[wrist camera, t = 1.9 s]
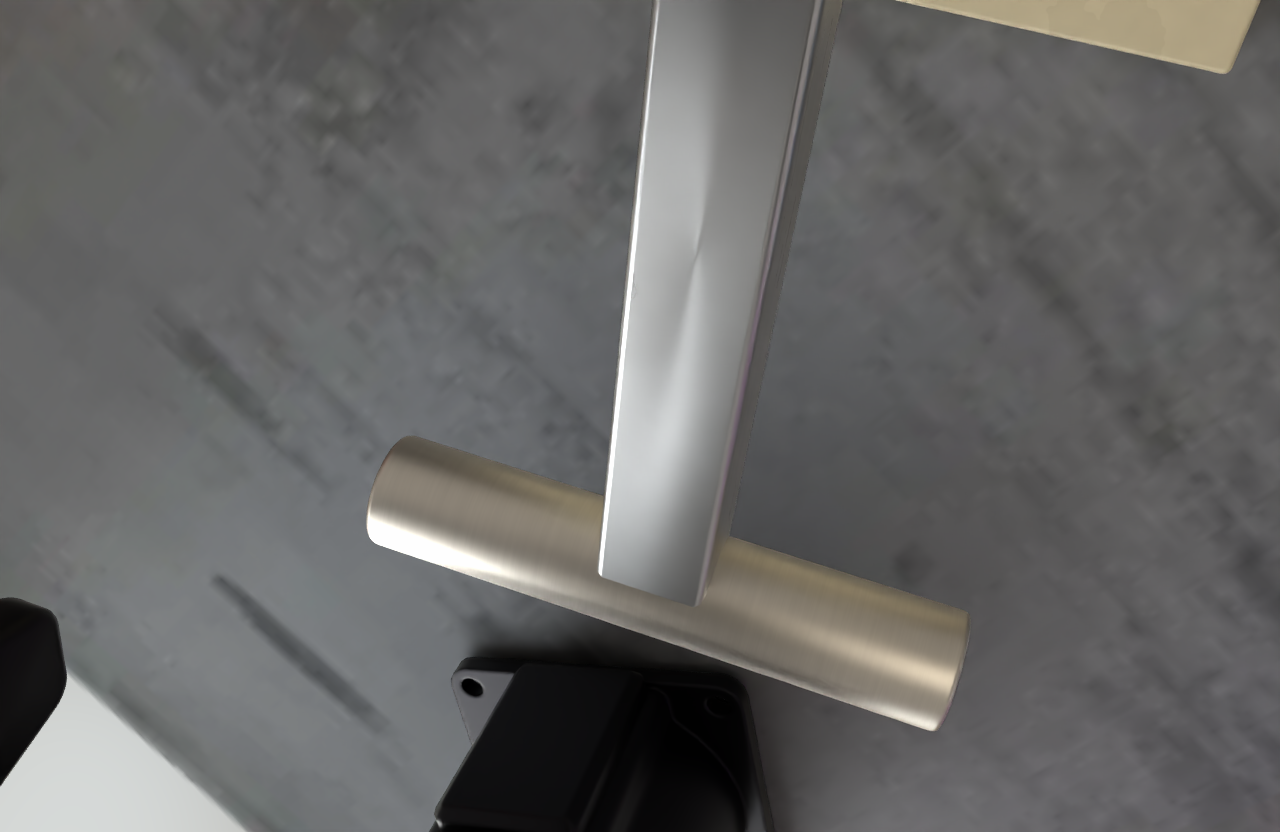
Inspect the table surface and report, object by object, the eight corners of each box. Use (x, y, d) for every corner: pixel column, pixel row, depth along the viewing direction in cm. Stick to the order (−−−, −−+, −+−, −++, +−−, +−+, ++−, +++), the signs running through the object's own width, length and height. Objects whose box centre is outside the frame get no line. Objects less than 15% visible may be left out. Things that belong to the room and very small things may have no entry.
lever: (954, 616, 13) (919, 810, 11) (443, 454, 14) (339, 607, 12) (1802, -1309, 4) (2172, -1712, 3) (378, -1335, 6) (28, -1638, 4)
